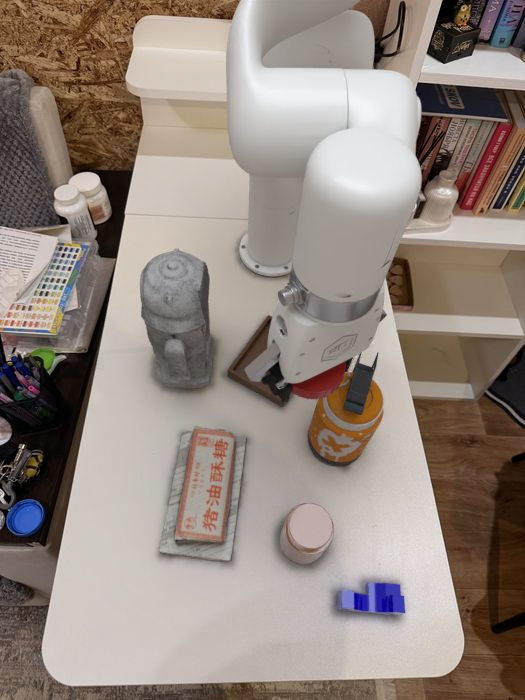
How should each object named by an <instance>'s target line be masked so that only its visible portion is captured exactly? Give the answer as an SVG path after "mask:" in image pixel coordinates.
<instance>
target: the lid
mask: <svg viewBox="0 0 525 700" xmlns="http://www.w3.org/2000/svg"><path fill="white" fill-rule="evenodd" d="M279 365H280V364H279ZM345 370H346V363H345V361H344V362H342V363H340V364H338V365H336V366H334V367H332V368H330V369H328V370H326V371H324V372H322V373H320V374H318V375H316V376H314V377H312V378H309V379H307V380H305V381H302V382H300V383H291V384H292V389H291V394H294V395H295V396H297V397H298V398H302V399H305V400H317V401H318V399H320V398H325V397H326V396H329V395H330V394H333V392H334V391H335V390H336V389H338V388H339V385H340V383H341V382H342V381H343V378H344V373H345Z"/></svg>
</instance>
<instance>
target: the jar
mask: <svg viewBox="0 0 525 700" xmlns="http://www.w3.org/2000/svg"><path fill="white" fill-rule="evenodd" d="M334 525H335V524H334V522H333V519H332V517H331V515H330V513H329V512H328V511H327V510H326V509H325V508H324V507H323V506H321V505H320V504H317V503H313V502H304V503H300V504H297V505H296V506H294V507H293V508H292V509H291V510H290V511H289V512H288V514H287V515H286V517H285V520H284V523H283V525H282V528H281V531H280V534H279V545H280V549H281V551H282V552H283V554H284V555H285V557H286V558H287V559H288V560H289V561H291V562H293V563H295V564H298V565H309V564H312V563H314V562H315V561H318V559H319V558H320V557H321V556H322V554H323V553H324V552H325V551H326V550H327V549H328V548H329V546H331V543H332V541H333V539H334V536H335V527H334Z"/></svg>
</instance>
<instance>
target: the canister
mask: <svg viewBox="0 0 525 700" xmlns="http://www.w3.org/2000/svg"><path fill="white" fill-rule="evenodd" d="M361 356H362V353H360V354H358V357H357V359H356V362H355V364H354V367H353V368H352V371H348V372H346V373H344V378H343V381H342V382H341V383H340V385H339V388H338V389H336V390H335V391H334V392H333V394H330V395H329V396H326V397H325V398H320V399H317V402H316V404H315V407H314V411H313V415H312V417H311V421H310V424H309V426H308V430H307V443H308V446H309V449H310V450H311V452H312V454H313V455H314V456H315V457H316V458H317V459H318V460H319V461H321V462H322V463H325V464H327V465H330V466H332V467H333V466H334V467H344V466H347V465H351V464H352V463H354V462H355V461H357V460H358V459H359V457H361V455H362V454H363V452H364V450H365V449H366V447H367V445H368V444H369V442H370V441H371V439H372V438H373V436H374V434H375V432H376V431H377V429H378V428H379V426H380V425H381V422H382V420H383V418H384V413H385V411H384V410H385V409H384V406H385V399H384V394H383V392H382V390H381V387H379V385H378V383H377V382H376V381H375V380H374V379H373V378H374V374H375V371H376V369H377V364H378V360H379V359H378V358H379V351H377V352H376V355H375V358H374V360H373V363H372V365H371V366H370V365H366V364H364V363H361V362H360V361H361Z"/></svg>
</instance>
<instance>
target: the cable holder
mask: <svg viewBox="0 0 525 700" xmlns="http://www.w3.org/2000/svg"><path fill="white" fill-rule="evenodd" d="M365 588H366V589H365V591H366V592H365V594H364V593H359V592H355V591H354V590H347V589H342V590H340V591H337V593H336V610H337V611H348V612H355V613H356V612H357V613H367V614H380V615H389V616H400V615H403V614H406V605H405V595H402V589H401V584H399V583H388V582H366V584H365Z"/></svg>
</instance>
